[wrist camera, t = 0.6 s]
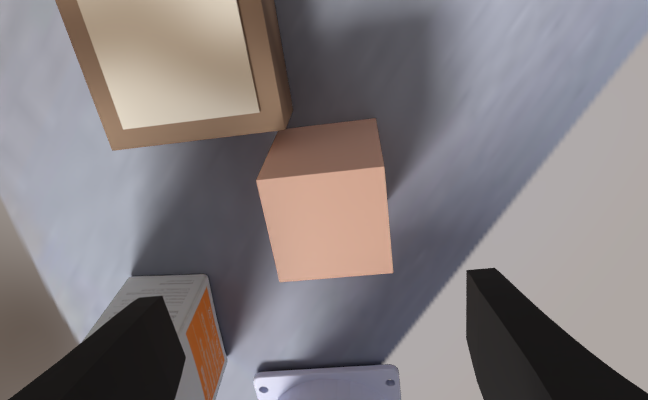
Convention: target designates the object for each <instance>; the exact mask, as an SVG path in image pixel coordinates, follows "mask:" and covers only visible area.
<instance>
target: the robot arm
mask: <svg viewBox="0 0 648 400" xmlns="http://www.w3.org/2000/svg"><path fill="white" fill-rule="evenodd" d="M466 311H467V312H466V315H467V320H466V321H467V322H466V335H467V336H466V338H467V343H468V347H469V351H470V355H471V359H472V363H473V367H474V371H475V375H476V379H477V382H478V385H479V388H480V390H481V393H482V396H483V399H484V400H648V393H646V392H645V391H643V390H642V389H640V388H639V387H637V386H636V385H635V384H633V383H632V382H630V381H629V380H627V379H626V378H624V377H623V376H621V375H620V374H619V373H617V372H616V371H615V370H613V369H612V368H611V367H609V366H608V365H607V364H605V363H604V362H602V361H601V360H600V359H599V358H597V357H596V356H595V355H594V354H592V353H591V352H590V351H588V350H587V349H586V348H585V347H583V346H582V345H581V344H580V343H579V342H577V341H576V340H575V339H574V338H572V337H571V336H570V335H569V334H568V333H566V332H565V331H564V330H563V329H562V328H561V327H559V326H558V325H557V324H556V323H555V322H554V321H552V320H551V319H550V318H549V317H548V316H547V315H545V314H544V313H543V312H542V311H541V310H540V309H538V307H536V306H535V305H534V304H533V303H532V302H531V301H530V300H529V299H528V298H527V297H526V296H524V295H523V294H522V293H521V292H520V291H519V290H518V289H517V288H516V287H515V286H514V285H513V284H512V283H511V282H510V281H509V280H508V279H506V278H505V277H504V276H503V275H502V274H501V273H500V272H499V271H497V270H496V269H495V268H488V269H476V270H467V310H466ZM185 360H186V356H185V353H184V351H183V348H182V345H181V343H180V340H179V338H178V335H177V333H176V330H175V327H174V325H173V322H172V320H171V317H170V314H169V312H168V309H167V307H166V304H165V301H164V299H163V296H152V297H140V298H137V299H136V300H135V301H133V302H132V303H130V304H129V305H128V306H126V307H125V308H124V309H122V310H121V311H120V312H119V313H117V314H116V315H115V316H114V317H112V318H111V319H110V320H109V321H107V322H106V323H105V324H104V325H103V326H101V327H100V328H99V329H98V330H97V331H95V332H94V333H93V334H92V335H90V336H89V337H88V338H87V339H85V340H84V341H83V342H82V343H81V344H79V345H78V346H77V347H76V348H74V349H73V350H72V351H71V352H70V353H68V354H67V355H66V356H65V357H63V358H62V359H61V360H60V361H58V362H57V363H56V364H54V365H53V366H52V367H51V368H49V369H48V370H47V371H45V372H44V373H43V374H41V375H40V376H39V377H37V378H36V379H35V380H34V381H32V382H31V383H30V384H28V385H27V386H26V387H24V388H23V389H22V390H20V391H19V392H18V393H17V394H15V395H14V396H13V397H11V398H10V399H8V400H175V398H176V394H177V391H178V387H179V383H180V380H181V376H182V372H183V368H184V364H185ZM389 379H391V380H389ZM253 384H254V387H255V391H256V394H257V397H258V400H401V393H400V381H399V372H398V368H397V367H396V366H394V365H390V364H389V365H388V364H386V365H370V366H353V367H336V368H319V369H302V370H285V371H268V372H259V373H257V374H255V376H254V379H253Z"/></svg>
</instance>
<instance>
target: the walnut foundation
mask: <svg viewBox="0 0 648 400" xmlns="http://www.w3.org/2000/svg"><path fill="white" fill-rule="evenodd" d="M55 1H56V3H57V6H58V9H59V11H60V14H61V17H62V19H63V22H64V25H65V27H66V30H67V32H68V35H69V38H70V40H71V43H72V46H73V48H74V51H75V54H76V56H77V59H78V61H79V64H80V67H81V69H82V72H83V75H84V77H85V80H86V83H87V85H88V88H89V90H90V93H91V96H92V98H93V101H94V104H95V106H96V109H97V112H98V114H99V117H100V119H101V122H102V125H103V127H104V130H105V133H106V135H107V138H108V141H109V143H110V146H111V148H112V151H113V150H122V149H130V148H138V147H147V146H155V145H163V144H172V143H180V142H188V141H197V140H205V139H213V138H222V137H230V136H238V135H247V134H255V133H263V132H272V131H280V130H285V129H286V127H287V124H288V122H289V119H290V117H291V114H292V112H293V106H292V100H291V94H290V89H289V83H288V77H287V71H286V66H285V60H284V54H283V48H282V43H281V37H280V31H279V26H278V20H277V14H276V8H275V3H274V0H55Z"/></svg>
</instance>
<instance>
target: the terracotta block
mask: <svg viewBox="0 0 648 400" xmlns="http://www.w3.org/2000/svg"><path fill="white" fill-rule="evenodd" d="M256 182H257V187H258V191H259V195H260V199H261V204H262V208H263V212H264V217H265V221H266V225H267V230H268V234H269V238H270V243H271V247H272V251H273V256H274V260H275V264H276V269H277V273H278V277H279V282H289V281H302V280H314V279H326V278H338V277H351V276H363V275H375V274H387V273H393V263H392V252H391V240H390V228H389V216H388V204H387V193H386V181H385V169H384V162H383V156H382V151H381V145H380V139H379V134H378V128H377V122H376V118H372V119H364V120H355V121H347V122H339V123H330V124H322V125H314V126H305V127H297V128H289V129H285V130H280V131H278V132H277V135H276V137H275V139H274V141H273V144H272V146H271V148H270V150H269V153H268V155H267V157H266V159H265V161H264V164H263V166H262V168H261V170H260V173H259V175H258V177H257V179H256Z"/></svg>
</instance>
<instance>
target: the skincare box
mask: <svg viewBox="0 0 648 400" xmlns="http://www.w3.org/2000/svg"><path fill="white" fill-rule="evenodd" d="M152 296H163V299H164V301H165V304H166V307H167V309H168V312H169V314H170V317H171V320H172V322H173V325H174V327H175V330H176V333H177V335H178V338H179V340H180V343H181V345H182V348H183V351H184V353H185V356H186V360H185V364H184V368H183V372H182V376H181V380H180V383H179V387H178V391H177V394H176V398H175V400H215V399H216V396H217V393H218V389H219V386H220V383H221V380H222V377H223V373H224V370H225V367H226V364H227V356H226V353H225V350H224V346H223V341H222V337H221V333H220V329H219V325H218V321H217V317H216V312H215V307H214V303H213V298H212V293H211V289H210V284H209V279H208V276H207V275H205V274H193V275H166V276H134V277H130V278H128V279H127V281H126V282H125V284H124V285H123V286H122V288H121V289H120V290H119V292H118V293H117V294H116V296H115V297H114V299H113V300H112V301H111V303H110V304H109V306H108V307H107V308H106V310H105V311H104V312H103V314H102V315H101V317H100V318H99V319H98V321H97V322H96V324H95V325H94V326H93V328H92V329H91V330H90V332H89V333H88V335H87V336H86V337H85V339H87V338H88V337H89V336H90V335H92V334H93V333H94V332H95V331H97V330H98V329H99V328H100V327H101V326H103V325H104V324H105V323H106V322H107V321H109V320H110V319H111V318H112V317H114V316H115V315H116V314H117V313H119V312H120V311H121V310H122V309H124V308H125V307H126V306H128V305H129V304H130V303H132V302H133V301H135V300H136V299H137V298H140V297H152ZM85 339H84V340H85ZM84 340H83V341H84ZM83 341H82V342H83Z"/></svg>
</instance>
